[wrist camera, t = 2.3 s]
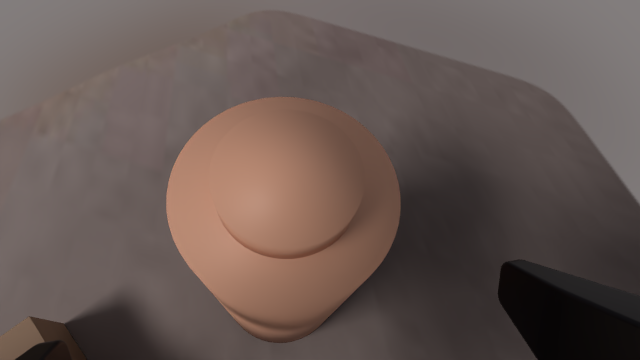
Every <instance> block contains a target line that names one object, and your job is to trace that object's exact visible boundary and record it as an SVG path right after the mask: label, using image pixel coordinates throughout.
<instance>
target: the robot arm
mask: <svg viewBox="0 0 640 360" xmlns="http://www.w3.org/2000/svg"><path fill="white" fill-rule="evenodd" d="M498 298H499V301H500V303H501V305H502V307H503V308H504V310H505V311H506V313H507V314H508V316H509V317H510V319H511V320H512V322H513V323H514V325H515V326H516V328H517V329H518V331H519V332H520V334H521V335H522V337H523V338H524V340H525V341H526V343H527V344H528V346H529V347H530V349H531V350H532V352H533V353H534V355H535V356H536V358H537V359H538V360H640V296H638V295H634V294H631V293H628V292H625V291H622V290H618V289H615V288H612V287H609V286H606V285H602V284H599V283H596V282H593V281H589V280H586V279H583V278H580V277H577V276H573V275H570V274H567V273H564V272H560V271H557V270H554V269H551V268H548V267H544V266H541V265H538V264H535V263H532V262H528V261H525V260H514V261H508V262H505V263H503V265H502V266H501V271H500V279H499V287H498ZM15 360H72V357H71V354H70V351H69V348H68V346H67V344H66V343H65V341H63V340H54V341H49V342H43V343H39V344H36V345H34V346H33V347H32V348H30V349H29V350H27V351H26V352H25V353H23V354H22V355H20V356H19V357H18V358H16V359H15Z"/></svg>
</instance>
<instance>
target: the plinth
mask: <svg viewBox="0 0 640 360" xmlns="http://www.w3.org/2000/svg"><path fill="white" fill-rule="evenodd" d="M54 340H63V341H65V343H66V344H67V346H68V348H69V351H70V354H71V357H72V360H87V359H86V358H85V356H84V354H83V353H82V351H81V350H80V348H79V347H78V345H77V344H76V342H75V341H74V339H73V337H72V336H71V334H70V333H69V331H68V330H67V328H66V327H65V325H64V324H63V323H59V322H54V321H49V320H44V319H39V318H35V317H30V316H29V317H27V318H26V319H25V320H23V321H22V322H20V323H19V324H18V325H16V326H15V327H13V328H12V329H11V330H9V331H8V332H6V333H5V334H3V335H2V336H1V337H0V360H15V359H16V358H18V357H19V356H20V355H22V354H23V353H25V352H26V351H27V350H29V349H30V348H32V347H33V346H34V345H36V344H39V343H43V342H49V341H54Z"/></svg>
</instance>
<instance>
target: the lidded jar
mask: <svg viewBox="0 0 640 360" xmlns="http://www.w3.org/2000/svg"><path fill="white" fill-rule="evenodd" d="M166 210H167V217H168V224H169V227H170V231H171V234H172V237H173V240H174V242H175V244H176V246H177V248H178V250H179V252H180V254H181V255H182V257H183V258H184V260H185V261H186V263H187V264H188V266H189V267H190V268H191V269H192V270H193V272H194V273H195V274H196V275H197V276H198V277H199V278H200V280H201V281H202V282H203V283H204V284H205V285H206V287H207V288H208V289H209V290H210V291H211V292H212V294H213V295H214V296H215V297H216V298H217V299H218V300H219V302H220V303H221V304H222V305H223V306H224V307H225V309H226V310H227V311H228V312H229V313H230V314H231V316H232V317H233V318H234V319H235V320H236V321H237V322H238V324H239V325H240V326H241V327H242V328H243V329H244V330H246V331H247V332H248V333H249V334H251V335H253V336H254V337H256V338H259V339H261V340H264V341H268V342H274V343H286V342H292V341H295V340H298V339H301V338H303V337H305V336H307V335H309V334H310V333H312V332H313V331H314V330H316V329H317V328H318V327H319V326H320V325H321V324H322V323H323V322H324V321H325V320H326V319H327V318H328V317H329V316H330V315H331V314H332V313H333V312H334V311H335V310H336V309H337V308H338V307H339V306H340V305H341V304H342V303H343V302H344V301H345V300H346V299H347V298H348V297H349V296H350V295H351V294H352V293H353V292H354V291H355V290H356V289H357V288H358V287H359V286H360V285H361V284H362V283H363V282H365V281H366V280H367V279H368V278H369V277H370V276H371V275H372V273H373V272H374V271H375V270H376V269H377V267H378V266H379V265H380V264H381V263H382V261H383V259H384V258H385V256H386V255H387V253H388V252H389V250H390V247H391V245H392V243H393V241H394V239H395V236H396V232H397V229H398V225H399V219H400V211H401V196H400V189H399V183H398V179H397V176H396V173H395V170H394V167H393V165H392V163H391V160H390V158H389V157H388V155H387V153H386V152H385V150H384V148H383V147H382V145H381V144H380V143H379V142H378V140H377V139H376V138H375V137H374V136H373V135H372V134H371V133H370V132H369V131H368V130H367V129H366V128H365V127H364V126H363V125H362V124H360V123H359V122H358V121H357V120H355V119H354V118H352V117H351V116H349V115H347V114H346V113H344V112H342V111H340V110H338V109H336V108H334V107H332V106H329V105H326V104H323V103H321V102H317V101H313V100H309V99H302V98H295V97H272V98H263V99H258V100H253V101H249V102H246V103H243V104H240V105H237V106H235V107H232V108H230V109H228V110H226V111H224V112H222V113H221V114H219V115H217V116H215V117H214V118H213V119H211V120H210V121H208V122H207V123H206V124H204V125H203V126H202V127H201V128H200V129H199V130H198V131H197V132H196V133H195V134H194V135H193V136H192V137H191V139H190V140H189V141H188V142H187V143H186V145H185V146H184V148H183V149H182V151H181V152H180V154H179V156H178V158H177V160H176V162H175V164H174V166H173V169H172V172H171V175H170V179H169V183H168V189H167V204H166Z"/></svg>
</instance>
